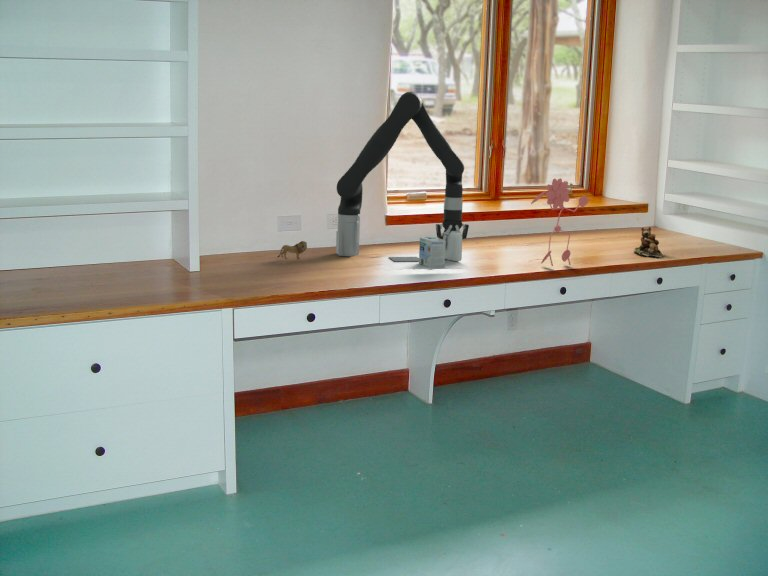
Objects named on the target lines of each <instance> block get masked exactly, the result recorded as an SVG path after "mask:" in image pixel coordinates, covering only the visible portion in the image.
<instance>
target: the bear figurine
mask: <svg viewBox="0 0 768 576" xmlns="http://www.w3.org/2000/svg"><path fill="white" fill-rule="evenodd" d="M640 230H641V238H640V242H641V244H640V245H639V246H638V247H635V248H634V249H633V253H634V252H635V253H637V254H639V255H643V256H646V257H648V256H649V257H657V258H662V257H665V254H664V253H663V252H661V250H660V249H659V244H660V241H659V240H658V239H656V234H654V233H652V231H651V230H652V228H651V227H648V228H644V227H642V228H641V229H640ZM662 253H663V254H664V255H663V254H662Z"/></svg>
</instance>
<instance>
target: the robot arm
mask: <svg viewBox="0 0 768 576" xmlns="http://www.w3.org/2000/svg"><path fill="white" fill-rule="evenodd" d="M411 120H412V121H413V122H414V123H415V125H416V126H417V128H418V129H419V131H420V133H421V134H422V136H423V138H424V140H425V142H426V143H427V145H428V147H429V148H430V149H431V151H432V152H433V154H434V156H436V158H437V159H438V160H439V161H440V162H441V164H442V166H443V168H444V169H445V191H444V202H443V219H442V220H443V222H442V223H436V224H435V231H436V238H439V239H443V240H445V239H446V237H447V236H448V234H449V233H450V232H451V231H457V232H459V233H461V228H462V229H463V230H462V233H461V234H462V241H463V240H465V239H467V236H468V231H469V227H470V226H469V224H467V223H463V184H462V183H463V173H464V172H465V165H464V163H463V161H462V160H461V159H460V158H459V156H458V155H457V154H456V153H455V151H454V150H453V148H452V146H451V145H450V143H449V142H448V141H447V139H446V137H445V136H444V135H443V134H442V132H441V131H440V129H439V128H438V127H437V125H436V124H435V123H434V120H433V119H432V118H431V117H430V115H429V113H428V111H427V109H426V107H425V106H424V103H423V100H422V97H421V96H420V94H418V93H417V92H415V91H405V92H404V93H402V95H401V96H400V97H399V98H398V99H397V102H396V104H395V106H394V108H393V109H392V111H391V113H390V114H389V115H388V117H387V118H386V119H385V120H384V122H383V123H382V124H381V125H380V126H379V127H378V128H377V129H376V131H375V132H374V133H373V134H372V136H371V137H370V138H369V140H368V141H367V142H366V144H365V145H364V147H363V148H362V149H361V151H360V153H359V154H358V156H357V158H356V159H355V161H353V163H352V165H351V166H350V167H349V168H348V169H347V170H346V172H344V174H343V175H342V176H341V177H340V178H339V179H338V181H337V184H336V192H337V194H338V196H340V203H339V205H338V208H337V231H336V232H335V233H336V234H335V236H336V237H335V244H336V245H335V254H336V255H337V256H339V257H356V256H360V234H361V231H360V229H361V228H360V227H361V210H362V209H361V208H362V203H363V181H364V180H365V178H366V177H367V176H368V175H369V173H371V172H372V171H373V170H374V169H375V168H376V167H377V166H378V165H379V164H380V163H381V162H382V161H384V159H385V158H386V156H387V155H388V153H389V152H390V151H391V149H392V148H393V146H394V145H395V143H396V141H397V140H398V137H399V136H400V134H401V132H402V130H403V129H404V128H405V126H407V124H408V123H409V122H410V121H411ZM442 229H444V230H443V231H444V232H443V231H442ZM442 232H443V235H442V236H441V233H442ZM445 248H446V245H445Z"/></svg>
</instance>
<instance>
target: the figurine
mask: <svg viewBox="0 0 768 576" xmlns="http://www.w3.org/2000/svg"><path fill="white" fill-rule="evenodd" d="M562 179H563V178H560V177H559V178H558V179H557V178H553V179H552V181H551V184H547V185H546V188H547V190H544V191H542V192H541V193H540V194H538V195H537V196H536V197H535V198H534V199H533V200H532V201H531V202H530V204H531V205H532V204H534V203H536V202H537V201H539V200H540V199H541V198H543V196H544V195H545V196H546V199H547V200H546V203H547V205H549V207H550V209H551V211H554V210H560V209H561V210H560V212H559V214H558V217H557V222H556V225H555V226H554V228H553V231H552V232H551V234H550V236H549V240H548V241H549V243H548V252H547V253H546V254H545V256H544V257H543V258H540V259H539V258H537V259H535V261H536V260H537V261H539V260H542V261H540V262H541V263H540V264H542V265H543V263H544V262H545V261H546V260H548V259H549V260H550V264H551V267H554V264H553V260H552V255H551V253H552V250H550V249H551V239H552V238H551V237H552V236H553V234H554V232H557V233H559V232H560V231H561V232H563V233H564V234H566V235H568V240H567V245H566V249H565V250H564V251H563V253H562V254H561V260H562V261H563V262H565V263H566V261H568V265H569V266H570V265H571V261H570V256H571V250H570V249H568V248H569V243H570V237H571V234H570V233H568V232H566V231H565V230H562V227H561V226H560V225H559V222H560V217H561V213H562V211H563V210H564V209H565V210H567V211H570V212H573V213H575V212H576V211H577V210H578V208H579V207H581V208H585V206H586V205H587V204H588V203H589V198H588V196H586V195H585V194H584V195H582V196H581V197H580V198H579V199H578V204H577V206H576V208H575V209H574V210H573V209H570V208H568V207H565V206H564V202H565V203H568V202H569V201H570V197H569V194H570V190H569V188H568V185H569V182H568V181H567V180H564V181H563V180H562ZM532 261H533V259H532V260H529V261H528V262H532ZM580 264H581V265H583V263H582V262H580Z"/></svg>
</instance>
